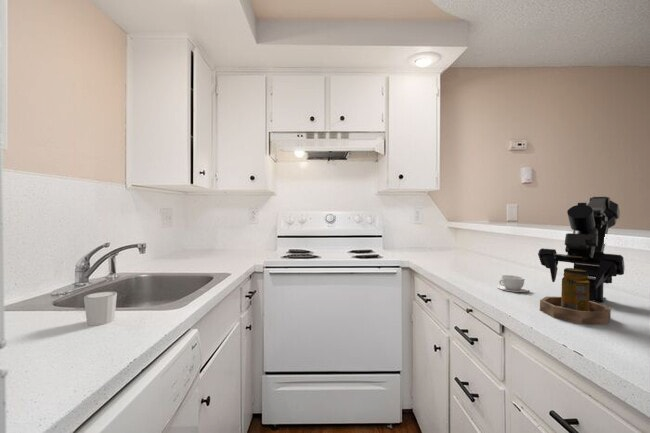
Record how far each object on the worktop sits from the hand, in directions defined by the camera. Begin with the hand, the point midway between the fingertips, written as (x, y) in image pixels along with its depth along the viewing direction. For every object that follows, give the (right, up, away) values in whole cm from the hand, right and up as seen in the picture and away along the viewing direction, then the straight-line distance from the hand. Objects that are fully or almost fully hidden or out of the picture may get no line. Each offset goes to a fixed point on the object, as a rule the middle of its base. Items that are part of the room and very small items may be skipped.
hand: (573, 284), depth 85 cm
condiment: (+1, -8, +1) cm, 9 cm away
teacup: (+1, -9, +29) cm, 30 cm away
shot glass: (-126, -8, -6) cm, 126 cm away
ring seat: (+1, -9, +1) cm, 9 cm away
